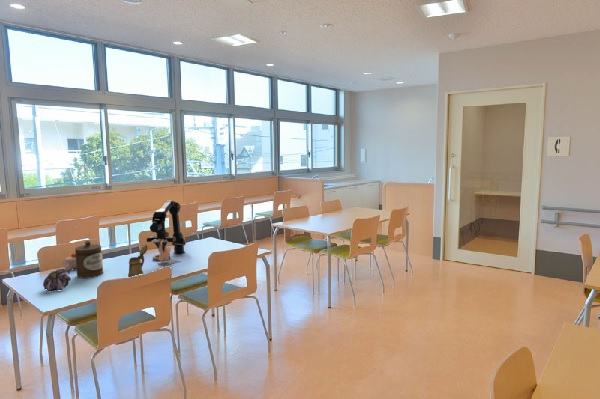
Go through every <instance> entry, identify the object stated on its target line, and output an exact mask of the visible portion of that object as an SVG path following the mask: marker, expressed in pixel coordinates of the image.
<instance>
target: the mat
mask: <svg viewBox="0 0 600 399" xmlns="http://www.w3.org/2000/svg"><path fill="white" fill-rule="evenodd" d="M177 262H178V263H181V262H182V260H178V259H169V261H160V262H158V263H157V265H160V266H164V267H166V266H171V265H173V264H177Z"/></svg>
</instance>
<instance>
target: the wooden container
mask: <svg viewBox="0 0 600 399" xmlns="http://www.w3.org/2000/svg"><path fill="white" fill-rule="evenodd" d="M75 254H76V268H77V269H76V276H78V277H77V278H79V277H83V278H82V279H85V278H84V277H91V278H95V277H94V276H96V277H99V276H101V275H102V274H103V273H104V268H103V265H104V264H103V256H102V245H101V244H94V243H92V244H91V241H90V240H86V241H85V242H84V245H80V246H77V247H75ZM98 275H99V276H98Z"/></svg>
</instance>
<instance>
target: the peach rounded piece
mask: <svg viewBox="0 0 600 399" xmlns="http://www.w3.org/2000/svg"><path fill="white" fill-rule="evenodd" d="M171 248H172V247H171V246H167V245H166V247H165V250H164V252H163V248H162V245H161V246H159V249H158V252H159V254H158V255H159V260H160V261H159V262H164V261H169V260H170V259H169V256H170V257H171V250H172V249H171Z"/></svg>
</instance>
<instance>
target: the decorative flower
mask: <svg viewBox="0 0 600 399" xmlns="http://www.w3.org/2000/svg"><path fill="white" fill-rule="evenodd" d="M69 274H71V272H70V271H69V270H67V269H65V268H59V269H56V270H53V271H51V272H50V273H48V275H47V276H46V277H44V280H43V282H42V285H43V288H44V290H45V289H47V290H48V291H51V292H52V291H53V292H55V291H56V292H57V290H62V291H63V288H67V286H68V285H69V282H70V281H72V278H71V277H70V276H69ZM47 290H46V291H47ZM48 291H47V292H48Z"/></svg>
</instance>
